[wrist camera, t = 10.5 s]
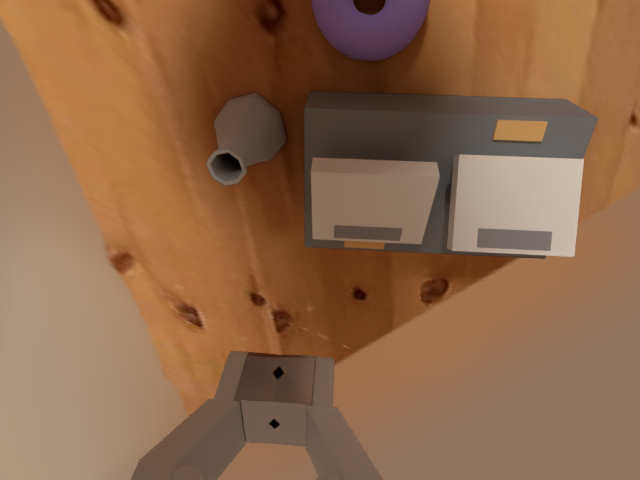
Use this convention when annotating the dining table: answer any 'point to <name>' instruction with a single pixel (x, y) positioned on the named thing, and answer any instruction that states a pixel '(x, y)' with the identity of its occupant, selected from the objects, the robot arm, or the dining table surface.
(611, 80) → the dining table surface
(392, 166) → the switch
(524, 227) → the switch
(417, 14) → the donut
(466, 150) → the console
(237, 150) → the flask
